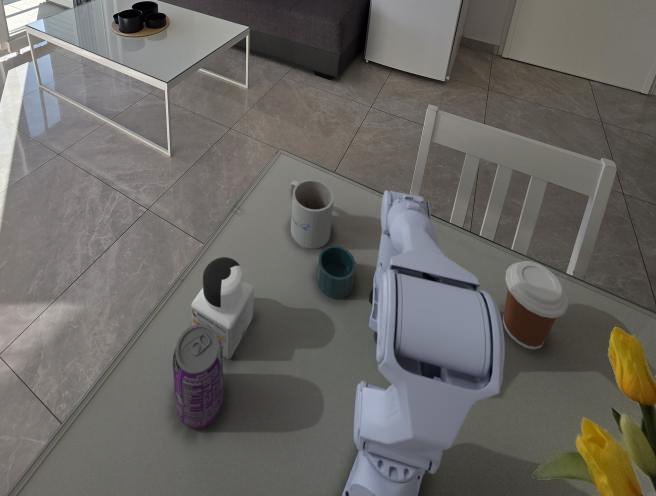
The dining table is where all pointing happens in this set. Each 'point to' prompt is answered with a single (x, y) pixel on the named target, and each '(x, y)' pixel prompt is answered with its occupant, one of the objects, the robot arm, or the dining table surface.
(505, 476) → the dining table surface
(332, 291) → the dark teal cup
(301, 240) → the mug
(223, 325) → the container
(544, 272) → the coffee cup
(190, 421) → the beverage can
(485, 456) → the dining table surface
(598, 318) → the dining table surface
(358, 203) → the dining table surface
